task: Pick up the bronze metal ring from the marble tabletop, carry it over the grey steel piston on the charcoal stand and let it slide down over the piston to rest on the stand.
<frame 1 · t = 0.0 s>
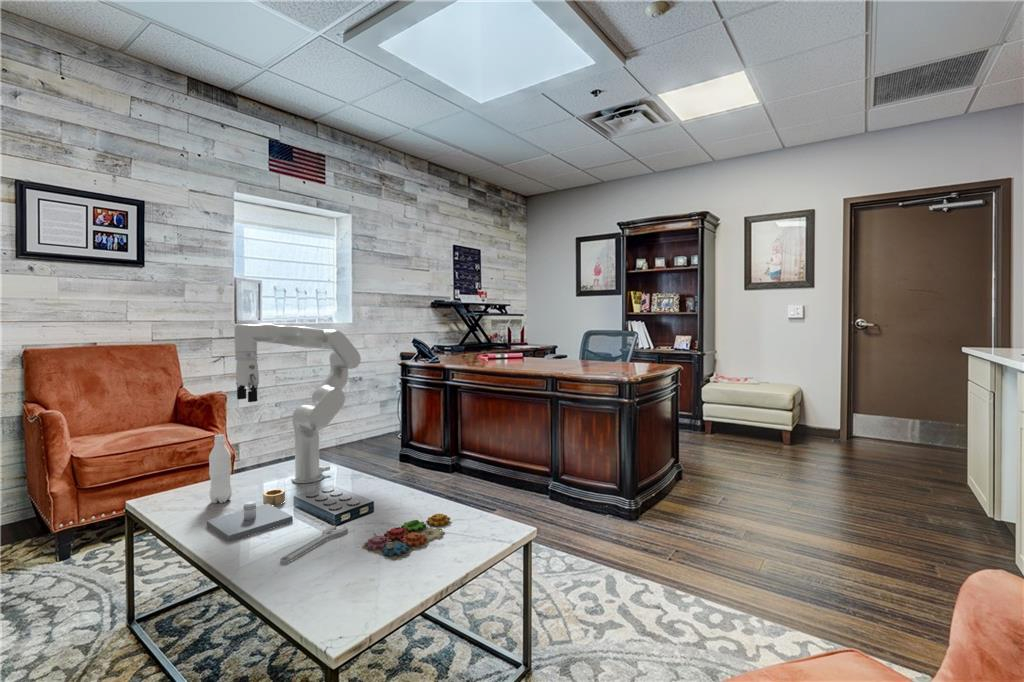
hand: (247, 400, 194), 37 cm above the table, tool pointing down, fingers open, 9 cm apart
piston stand: (250, 524, 168), on the table
adjustable wrench: (313, 546, 153), on the table
water bottle: (221, 501, 188), on the table
bronze ring: (274, 503, 187), on the table
gear puzzle: (416, 537, 159), on the table
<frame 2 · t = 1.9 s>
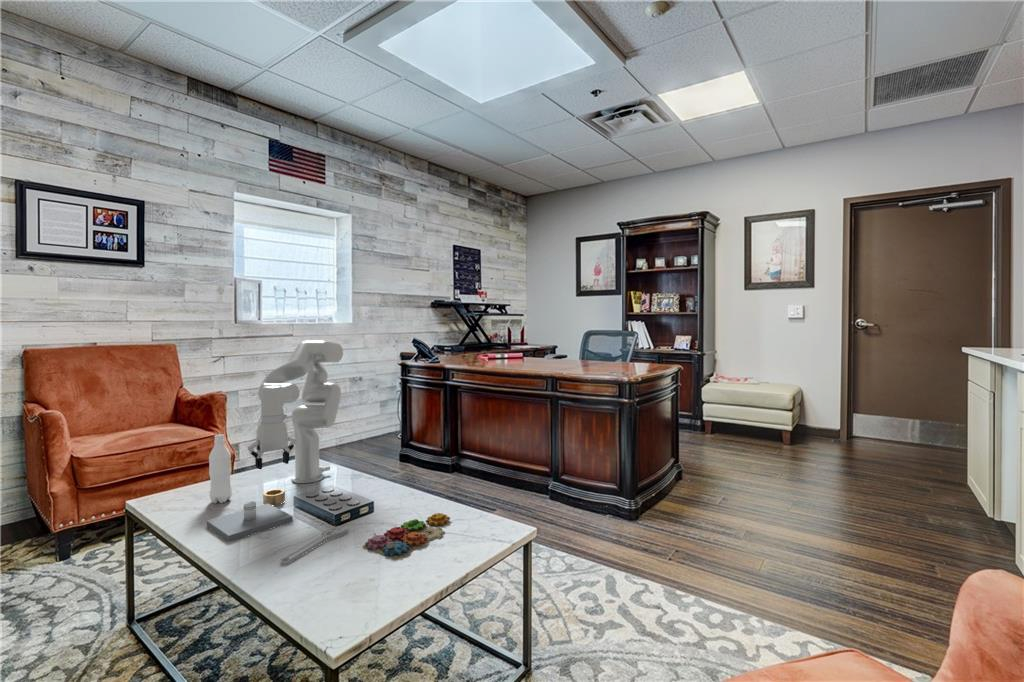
hand: (272, 465, 185), 14 cm above the table, tool pointing down, fingers open, 9 cm apart
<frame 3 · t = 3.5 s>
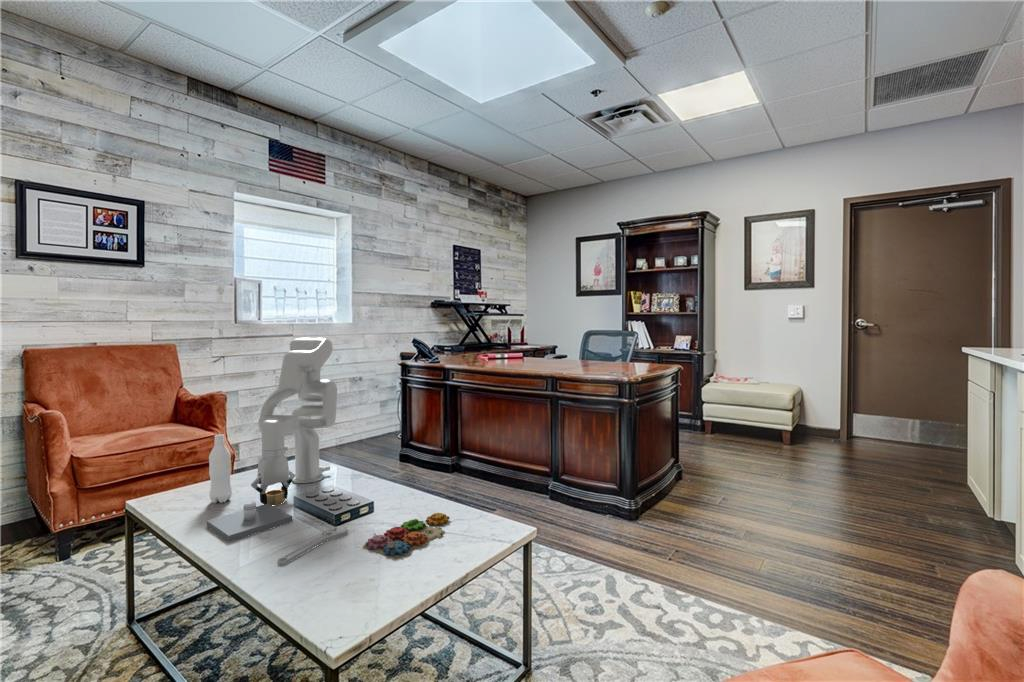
hand: (274, 500, 187), 1 cm above the table, tool pointing down, fingers closed on bronze ring, 6 cm apart
bronze ring: (274, 503, 187), on the table, touching gripper
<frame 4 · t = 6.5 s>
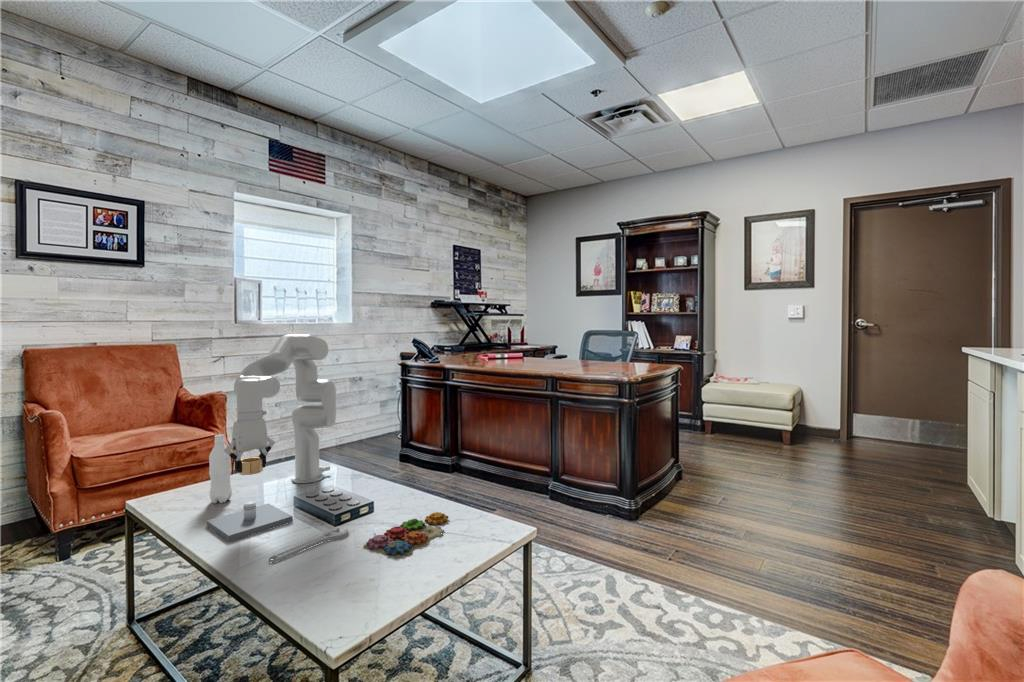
hand: (250, 468, 168), 18 cm above the table, tool pointing down, fingers closed on bronze ring, 6 cm apart
bronze ring: (250, 471, 168), point 17 cm above the table, touching gripper
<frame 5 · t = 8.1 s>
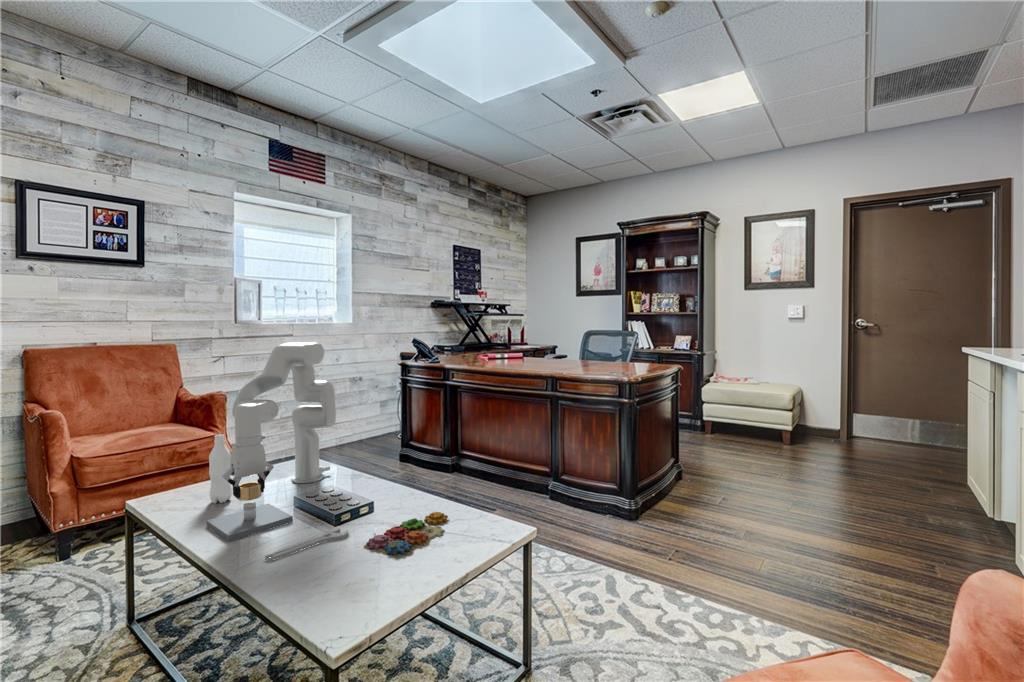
hand: (249, 494, 167), 10 cm above the table, tool pointing down, fingers closed on bronze ring, 6 cm apart
bronze ring: (249, 497, 167), point 9 cm above the table, touching gripper
when the fingers open (6 cm above the table, at t = 9.4 s): bronze ring drops 3 cm, resting on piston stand.
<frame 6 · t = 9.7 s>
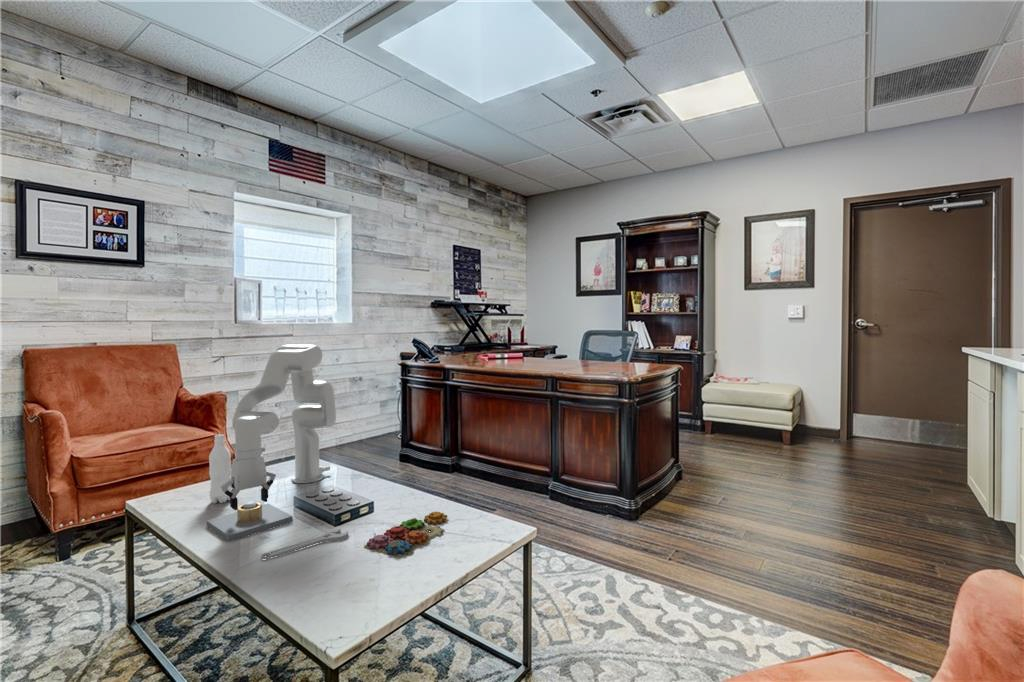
hand: (249, 504, 167), 7 cm above the table, tool pointing down, fingers open, 9 cm apart
bronze ring: (250, 518, 167), point 2 cm above the table, touching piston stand
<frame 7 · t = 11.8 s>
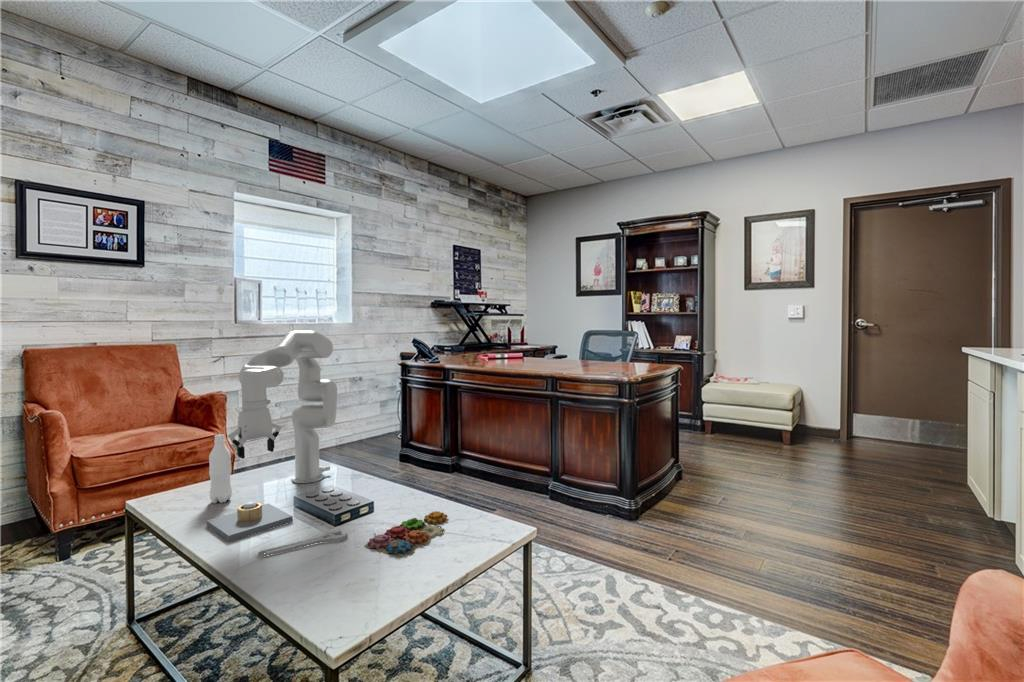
hand: (256, 454, 173), 22 cm above the table, tool pointing down, fingers open, 9 cm apart
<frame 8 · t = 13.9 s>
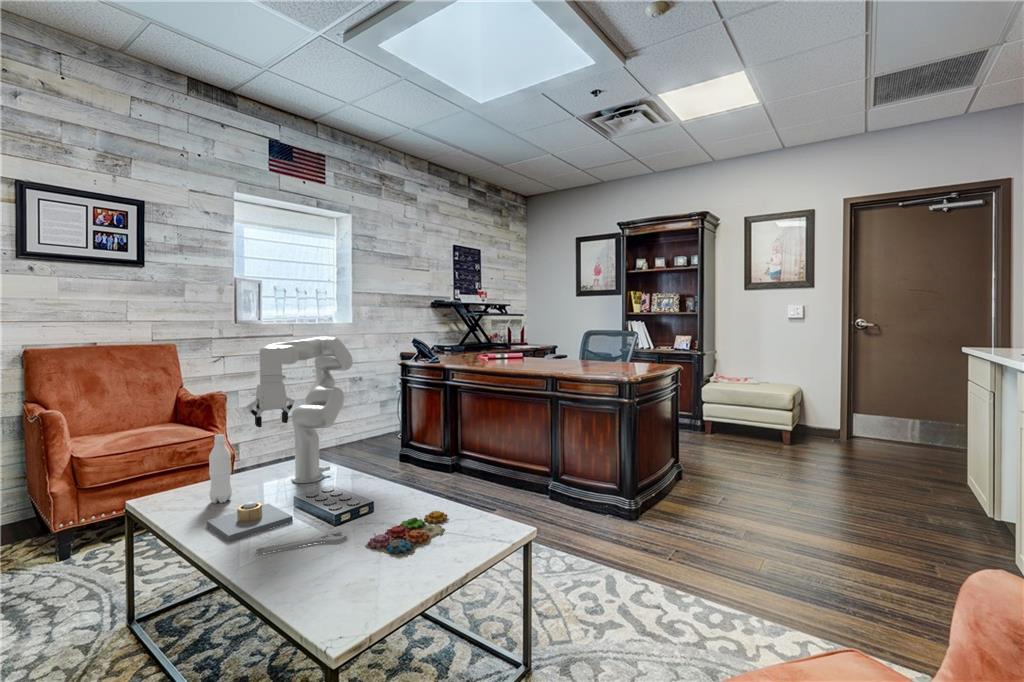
hand: (272, 424, 190), 28 cm above the table, tool pointing down, fingers open, 9 cm apart
at the end: bronze ring 0.0 cm off-centre on the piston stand, point 2.0 cm above the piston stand's base; the gripper is holding nothing; bronze ring tilted 0° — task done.
